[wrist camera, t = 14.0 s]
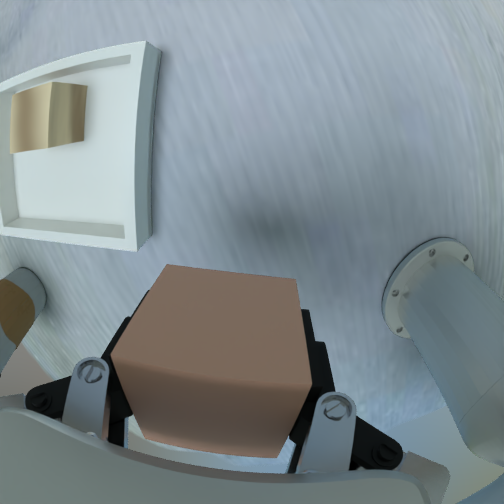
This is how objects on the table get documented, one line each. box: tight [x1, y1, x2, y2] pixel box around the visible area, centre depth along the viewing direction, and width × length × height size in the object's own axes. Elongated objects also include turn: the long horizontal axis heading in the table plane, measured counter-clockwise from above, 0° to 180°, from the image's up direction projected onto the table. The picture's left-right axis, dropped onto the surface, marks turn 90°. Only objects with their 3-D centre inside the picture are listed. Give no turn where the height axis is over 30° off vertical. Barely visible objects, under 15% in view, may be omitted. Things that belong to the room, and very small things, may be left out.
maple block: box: [10, 82, 88, 154], centre depth 15 cm, size 5×5×5 cm
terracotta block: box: [110, 264, 312, 458], centre depth 9 cm, size 5×5×5 cm
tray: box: [0, 41, 162, 252], centre depth 18 cm, size 18×16×4 cm
